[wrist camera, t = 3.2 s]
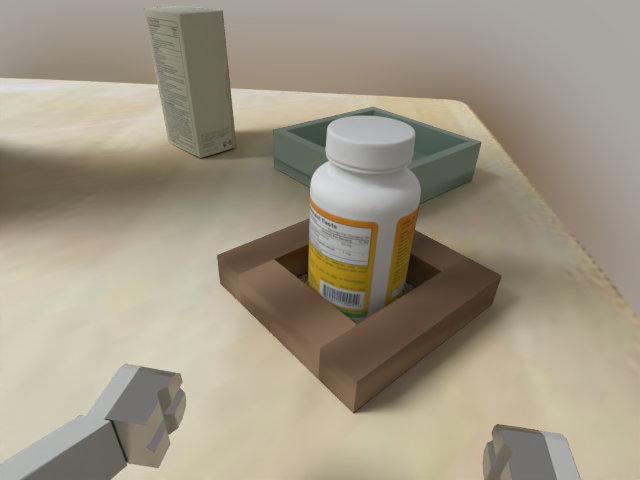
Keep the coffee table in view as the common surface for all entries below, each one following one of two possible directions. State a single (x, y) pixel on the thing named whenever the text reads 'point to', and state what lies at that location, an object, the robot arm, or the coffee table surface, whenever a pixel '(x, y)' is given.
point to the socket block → (341, 332)
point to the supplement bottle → (363, 215)
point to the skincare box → (192, 77)
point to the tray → (427, 165)
